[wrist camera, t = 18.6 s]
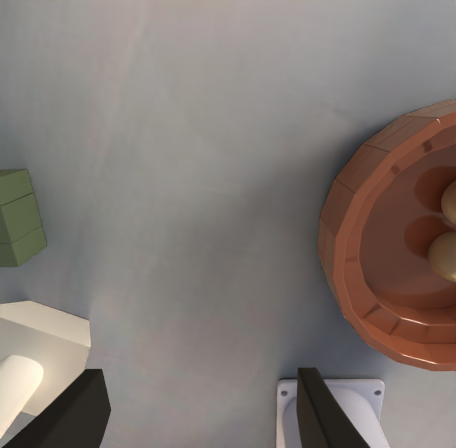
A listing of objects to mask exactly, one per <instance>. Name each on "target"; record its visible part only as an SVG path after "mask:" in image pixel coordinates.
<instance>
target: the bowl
mask: <svg viewBox="0 0 456 448" xmlns="http://www.w3.org/2000/svg"><path fill="white" fill-rule="evenodd" d="M454 181H456V99H448V100H444V101H441V102H438V103H435V104H433V105H430V106H427V107H424V108H422V109H419V110H416V111H413V112H410V113H408V114H405V115H402V116H401V117H399V118H398V119H397V120H395V121H394V122H392V123H391V124H390V125H388V126H387V127H385V128H384V129H383V130H381V131H380V132H378V133H377V134H376V135H374V136H373V137H371V138H370V139H369V140H367V141H366V142H364V144H362V145H361V146H360V148H359V149H358V150H357V151H356V153H355V154H354V155H353V156H352V158H351V159H350V160H349V161H348V163H347V164H346V165H345V166H344V168H343V169H342V170H341V171H340V173H339V174H338V175H337V176H336V178H335V179H334V181H333V184H332V186H331V189H330V191H329V194H328V196H327V199H326V201H325V204H324V206H323V209H322V211H321V214H320V219H319V236H318V255H319V259H320V262H321V265H322V269H323V272H324V275H325V278H326V282H327V284H328V286H329V288H330V290H331V292H332V294H333V296H334V298H335V300H336V302H337V304H338V306H339V308H340V310H341V312H342V314H343V316H344V317H345V318H346V319H347V321H348V322H349V323H350V325H351V326H352V327H353V328H354V330H355V331H356V332H357V333H358V335H359V336H360V337H361V339H362V340H363V341H364V342H365V343H366V344H368V345H370V346H371V347H373V348H374V349H376V350H378V351H379V352H381V353H382V354H384V355H386V356H387V357H389V358H391V359H392V360H394V361H396V362H399V363H403V364H407V365H411V366H415V367H419V368H422V369H426V370H430V371H456V282H451V281H448V280H445V279H443V278H442V277H440V276H439V275H437V274H436V273H435V272H434V271H433V269H432V268H431V266H430V264H429V262H428V249H429V247H430V245H431V243H432V242H433V241H434V240H435V239H436V238H437V237H438V236H440V235H442V234H444V233H447V232H451V231H456V225H454V224H453V223H451V222H450V221H449V220H448V219H447V218H446V217H445V215H444V213H443V211H442V207H441V199H442V196H443V193H444V192H445V190H446V189H447V187H448V186H449V185H450V184H452V183H453V182H454Z"/></svg>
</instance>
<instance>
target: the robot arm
mask: <svg viewBox="0 0 456 448" xmlns="http://www.w3.org/2000/svg"><path fill="white" fill-rule="evenodd" d="M384 389H385V385H384V383H383V382H382V380H380V379H323V378H322V377H321V375H320V373H319V371H318V370H317V369H316V368H298V379H287V380H280V381H278V383H277V412H276V448H390V447H389V445H388V443H387V440H386V438H385V436H384V434H383V431H382V429H381V427H380V424H379V420H380V414H381V408H382V401H383V395H384ZM377 390H378V391H377ZM282 391H284V392H282ZM110 412H111V407H110V403H109V398H108V394H107V389H106V385H105V380H104V375H103V371H102V369H86V370H85V371H83V372H82V373H81V374H80V375H79V376H78V377H77V378H76V379H75V380H74V381H73V382H72V383H71V384H70V385H69V386H68V387H67V388H66V389H65V390H64V391H63V392H62V393H61V394H60V395H59V396H58V397H57V398H56V399H55V400H54V401H53V402H52V403H51V404H49V405H48V406H47V407H46V408H45V409H44V410H43V411H42V412H41V413H40V414H39V415H38V416H37V417H36V418H35V419H34V420H33V421H31V422H30V423H29V424H28V425H27V426H26V427H25V428H24V429H22V430H21V431H20V432H19V433H18V434H17V435H16V436H15V437H13V438H12V439H11V440H10V441H9V442H8V443H7V444H6V445H4V446H3V447H2V448H99V447H100V444H101V442H102V439H103V436H104V433H105V429H106V426H107V423H108V419H109V416H110Z"/></svg>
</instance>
